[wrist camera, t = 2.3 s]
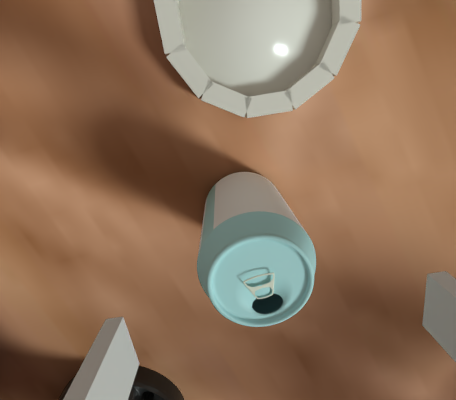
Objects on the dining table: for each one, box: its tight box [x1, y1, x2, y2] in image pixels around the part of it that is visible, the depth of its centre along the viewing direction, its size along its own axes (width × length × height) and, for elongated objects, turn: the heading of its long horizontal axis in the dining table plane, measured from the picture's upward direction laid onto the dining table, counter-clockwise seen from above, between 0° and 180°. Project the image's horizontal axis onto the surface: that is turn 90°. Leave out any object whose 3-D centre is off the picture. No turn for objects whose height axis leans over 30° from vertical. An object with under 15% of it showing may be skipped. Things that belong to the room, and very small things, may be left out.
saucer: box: [154, 0, 361, 118], centre depth 20 cm, size 14×14×2 cm
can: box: [197, 172, 316, 327], centre depth 21 cm, size 7×7×12 cm
